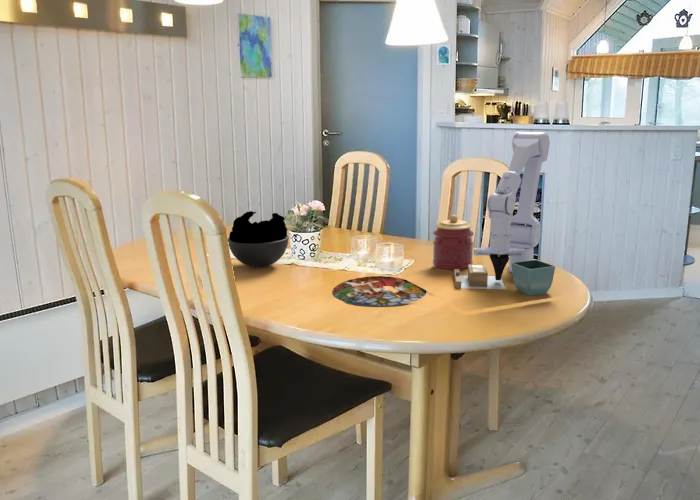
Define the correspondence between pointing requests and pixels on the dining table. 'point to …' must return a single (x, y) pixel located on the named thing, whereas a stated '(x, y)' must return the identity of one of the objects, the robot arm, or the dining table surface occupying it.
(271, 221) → the coal bowl
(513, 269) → the flower pot
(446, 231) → the canister
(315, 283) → the dining table surface
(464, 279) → the wall panel
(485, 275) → the frame
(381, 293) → the decorative plaque
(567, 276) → the dining table surface
